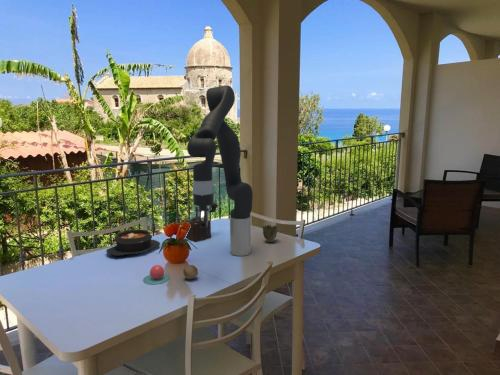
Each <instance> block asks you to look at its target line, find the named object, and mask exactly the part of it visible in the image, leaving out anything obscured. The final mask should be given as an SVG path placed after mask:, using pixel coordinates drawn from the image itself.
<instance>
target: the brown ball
mask: <svg viewBox="0 0 500 375" xmlns="http://www.w3.org/2000/svg"><path fill="white" fill-rule="evenodd" d="M198 273H199V270H198V268H197V267H196V266H195V265H193V264H189V265H186V266H185V267H184V269H183V276H184V277H185V279H187V280H189V281H191V280H194V279H196V277H198Z"/></svg>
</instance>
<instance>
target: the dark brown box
mask: <svg viewBox="0 0 500 375" xmlns="http://www.w3.org/2000/svg"><path fill="white" fill-rule="evenodd" d="M209 207H210V208H211V209H209V213H212V214H213V213H217V208H218V207H219V205H218V203H216V202H213V204H212V205H210V206H209ZM198 210H199V206H195V209H194V211H195V216H194V217H192V218H190V219H185V220H183V222H184V221H186V222H189V223H190V224H191V228H190V230H189V232H188V234H187V236H186V238H187V239H186V238H185V239H186V240H189V241H191V242H194V243H197V242H202V241H205V240H207V239H211V238H212V232H211V230H212V227H211V226H212V224H211V222H212V221H211V219H208V223H207V224H208V225H207V237H201V227H200V222H199V215H198Z"/></svg>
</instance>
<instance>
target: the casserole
mask: <svg viewBox="0 0 500 375" xmlns="http://www.w3.org/2000/svg"><path fill="white" fill-rule="evenodd" d="M152 238H153V236H152V235H151V233H150V231H149V230H147V229H129V230H125V231H121V232H119V233H117V234H116V236H115V238H114V243H115V244H116V245H114V246H112V247H109V248H107V249H106V251H105V252H106V253H107V254H109V255H111V256H118V257H120V256H126V255H128V256H129V255H130V256H131V255H133V256H134V255H139V254H143V253H145V252H149V251H150V250H152V249H154V248H156V247H159V246H160V245H161V242H160V241H158V240H156V239H152Z"/></svg>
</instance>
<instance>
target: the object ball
mask: <svg viewBox="0 0 500 375" xmlns="http://www.w3.org/2000/svg"><path fill="white" fill-rule="evenodd" d="M164 274H165V269H164V267H163V266H161V265H159V264H156V265H153V266H152V267H151V268H150V269H149V275H150V276H151V277H152V278H153V279H155V280H158V279H161V278H162V277H163V275H164Z"/></svg>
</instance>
